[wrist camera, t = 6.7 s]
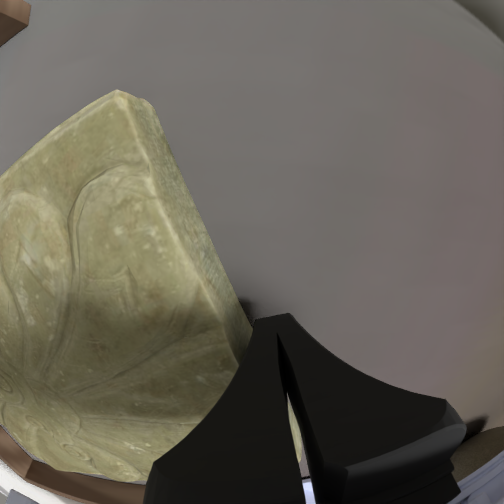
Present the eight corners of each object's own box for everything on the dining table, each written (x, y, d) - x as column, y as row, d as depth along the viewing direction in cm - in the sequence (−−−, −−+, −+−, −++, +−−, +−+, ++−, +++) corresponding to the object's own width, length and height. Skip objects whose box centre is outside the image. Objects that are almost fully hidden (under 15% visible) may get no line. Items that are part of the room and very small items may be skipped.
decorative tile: (-58, 275, 10) (-87, 295, 7) (152, 95, 9) (115, 69, 5) (76, 455, 16) (65, 484, 13) (305, 426, 15) (317, 472, 11)
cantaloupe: (454, 466, 22) (489, 535, 8) (391, 483, 20) (427, 579, 5) (523, 392, 18) (575, 461, 4) (484, 394, 16) (557, 500, 2)
